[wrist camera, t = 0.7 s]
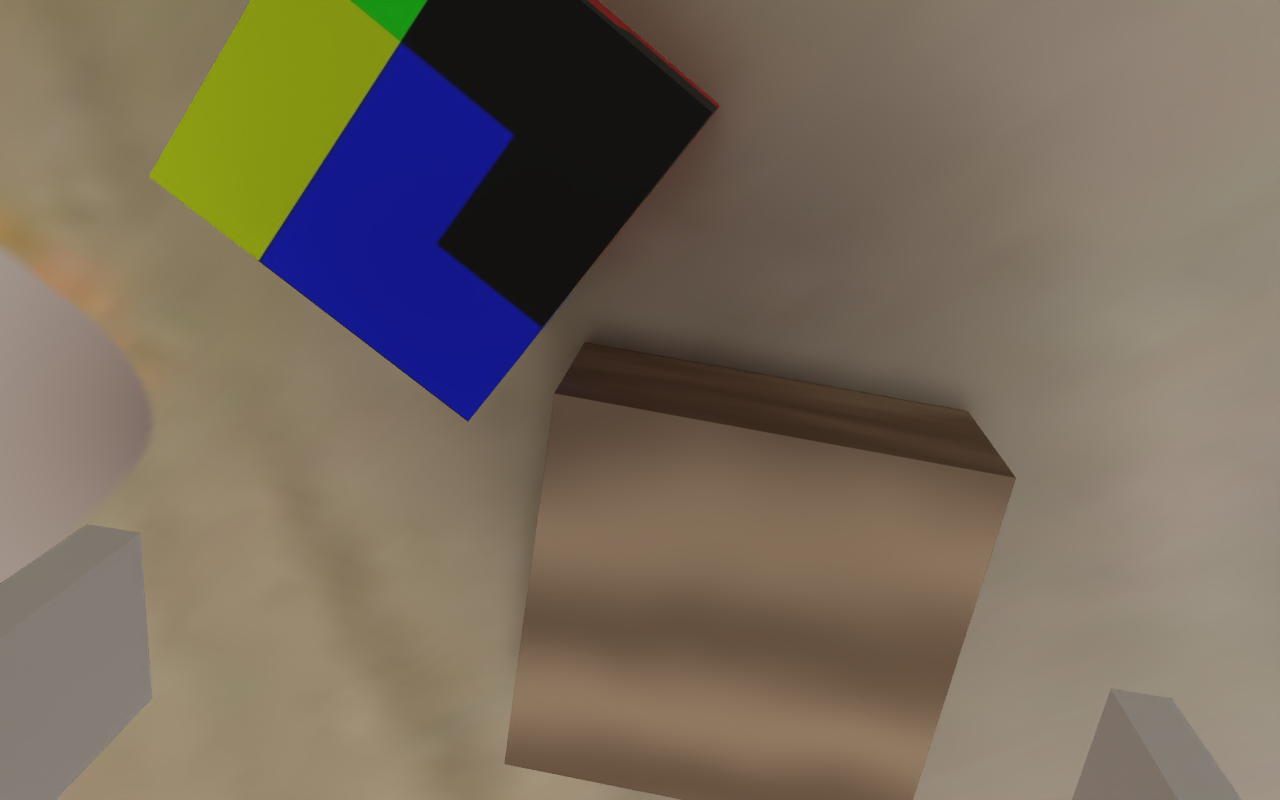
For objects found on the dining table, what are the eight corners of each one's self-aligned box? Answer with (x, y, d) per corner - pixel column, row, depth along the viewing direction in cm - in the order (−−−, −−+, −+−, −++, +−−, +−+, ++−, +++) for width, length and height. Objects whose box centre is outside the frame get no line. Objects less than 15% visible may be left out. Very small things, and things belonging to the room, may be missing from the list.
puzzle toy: (542, 329, 34) (468, 421, 25) (317, 150, 33) (148, 176, 23) (719, 105, 31) (712, 113, 21) (479, -101, 30) (360, -189, 20)
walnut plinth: (585, 342, 34) (554, 393, 28) (968, 411, 33) (1016, 478, 28) (538, 664, 38) (504, 763, 33) (874, 730, 38) (899, 843, 32)
